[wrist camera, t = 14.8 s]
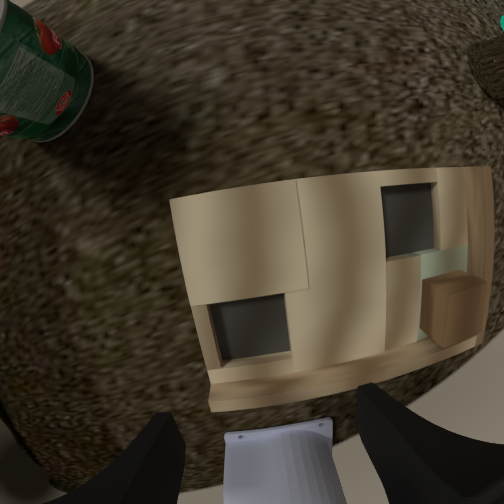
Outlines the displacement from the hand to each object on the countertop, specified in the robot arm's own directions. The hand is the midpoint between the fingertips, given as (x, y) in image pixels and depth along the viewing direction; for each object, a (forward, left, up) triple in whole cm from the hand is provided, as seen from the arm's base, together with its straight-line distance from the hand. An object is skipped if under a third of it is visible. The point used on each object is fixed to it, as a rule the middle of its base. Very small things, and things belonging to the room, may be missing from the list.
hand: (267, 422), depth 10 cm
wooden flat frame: (+7, +2, -10) cm, 12 cm away
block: (+14, -1, -9) cm, 17 cm away
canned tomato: (-13, +19, -11) cm, 25 cm away
